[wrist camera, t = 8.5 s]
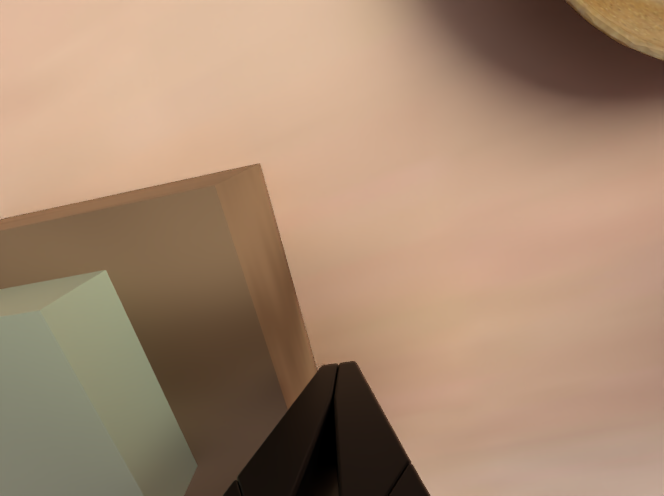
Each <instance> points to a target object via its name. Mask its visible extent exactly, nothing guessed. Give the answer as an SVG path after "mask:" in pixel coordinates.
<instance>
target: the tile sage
mask: <svg viewBox="0 0 664 496" xmlns="http://www.w3.org/2000/svg"><path fill="white" fill-rule="evenodd" d="M197 466H198V465H197V463H196V461H195V459H194V457H193V455H192V453H191V450H190V448H189V446H188V444H187V442H186V440H185V438H184V436H183V433H182V431H181V429H180V427H179V425H178V423H177V421H176V418H175V416H174V414H173V412H172V410H171V408H170V406H169V404H168V401H167V399H166V397H165V395H164V393H163V391H162V389H161V386H160V384H159V382H158V380H157V378H156V376H155V374H154V372H153V369H152V367H151V365H150V363H149V361H148V359H147V357H146V354H145V352H144V350H143V348H142V346H141V344H140V342H139V340H138V337H137V335H136V333H135V331H134V329H133V327H132V325H131V322H130V320H129V318H128V316H127V314H126V312H125V310H124V308H123V305H122V303H121V301H120V299H119V297H118V295H117V293H116V290H115V288H114V286H113V284H112V282H111V280H110V278H109V276H108V273H107V271H106V270H102V271H97V272H91V273H86V274H80V275H75V276H70V277H64V278H59V279H53V280H48V281H43V282H37V283H32V284H26V285H21V286H15V287H10V288H5V289H0V496H184V495H185V492H186V490H187V488H188V486H189V484H190V481H191V479H192V477H193V475H194V473H195V470H196V468H197Z"/></svg>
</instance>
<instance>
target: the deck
mask: <svg viewBox="0 0 664 496" xmlns="http://www.w3.org/2000/svg"><path fill="white" fill-rule="evenodd" d="M102 270H106V271H107V273H108V276H109V278H110V280H111V282H112V284H113V286H114V288H115V290H116V293H117V295H118V297H119V299H120V301H121V303H122V305H123V308H124V310H125V312H126V314H127V316H128V318H129V320H130V322H131V325H132V327H133V329H134V331H135V333H136V335H137V337H138V340H139V342H140V344H141V346H142V348H143V350H144V352H145V354H146V357H147V359H148V361H149V363H150V365H151V367H152V369H153V372H154V374H155V376H156V378H157V380H158V382H159V384H160V386H161V389H162V391H163V393H164V395H165V397H166V399H167V401H168V404H169V406H170V408H171V410H172V412H173V414H174V416H175V418H176V421H177V423H178V425H179V427H180V429H181V431H182V433H183V436H184V438H185V440H186V442H187V444H188V446H189V448H190V450H191V453H192V455H193V457H194V459H195V461H196V463H197V465H198V466H197V468H196V470H195V473H194V475H193V477H192V479H191V481H190V484H189V486H188V488H187V490H186V492H185V495H184V496H222V495H223V494H224V493H225V492H226V490H227V489H228V488H229V486H230V485H231V484H232V482H233V481H234V480H237V476H238V475H239V473H240V472H241V471H242V469H243V468H244V467H245V466H246V464H247V463H248V462H249V460H250V459H251V458H252V456H253V455H254V454H255V452H256V451H257V450H258V449H259V447H260V446H261V445H262V443H263V442H264V441H265V439H266V438H267V437H268V435H269V434H270V433H271V431H272V430H273V429H274V428H275V426H276V425H277V424H278V422H279V421H280V420H281V418H282V417H283V416H284V414H285V413H286V412H287V410H288V409H289V408H290V407H291V405H292V404H293V403H294V401H295V400H296V399H297V397H298V396H299V395H300V393H301V392H302V391H303V390H304V388H305V387H306V386H307V384H308V383H309V382H310V380H311V379H312V378H313V376H314V375H315V374H316V372H317V368H316V365H315V361H314V358H313V354H312V350H311V347H310V343H309V339H308V336H307V332H306V329H305V325H304V321H303V318H302V314H301V310H300V307H299V303H298V300H297V296H296V292H295V289H294V285H293V281H292V278H291V274H290V271H289V267H288V263H287V260H286V256H285V253H284V249H283V245H282V242H281V238H280V234H279V231H278V227H277V224H276V220H275V216H274V213H273V209H272V205H271V202H270V198H269V195H268V191H267V187H266V184H265V180H264V176H263V173H262V169H261V166H260V163H259V164H255V165H250V166H245V167H241V168H236V169H232V170H227V171H222V172H218V173H213V174H208V175H204V176H199V177H195V178H190V179H185V180H181V181H176V182H171V183H167V184H162V185H158V186H153V187H148V188H144V189H139V190H134V191H130V192H125V193H120V194H116V195H111V196H107V197H102V198H97V199H93V200H88V201H83V202H79V203H74V204H70V205H65V206H60V207H56V208H51V209H46V210H42V211H37V212H33V213H28V214H23V215H19V216H14V217H9V218H5V219H1V220H0V289H5V288H10V287H15V286H21V285H26V284H32V283H37V282H43V281H48V280H53V279H59V278H64V277H70V276H75V275H80V274H86V273H91V272H97V271H102Z"/></svg>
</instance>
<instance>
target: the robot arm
mask: <svg viewBox="0 0 664 496" xmlns="http://www.w3.org/2000/svg"><path fill="white" fill-rule="evenodd" d="M222 496H430V494H429V492H428V490H427V489H426V487H425V485H424V484H423V482H422V480H421V479H420V477H419V475H418V473H417V471H416V470H415V468H414V466H413V465H412V464H411V461H410V459H409V457H408V456H407V454H406V452H405V450H404V448H403V446H402V445H401V443H400V441H399V439H398V437H397V436H396V434H395V432H394V430H393V428H392V426H391V425H390V423H389V421H388V419H387V417H386V416H385V414H384V412H383V410H382V408H381V406H380V405H379V403H378V401H377V399H376V397H375V396H374V394H373V392H372V390H371V388H370V387H369V385H368V383H367V381H366V379H365V377H364V376H363V374H362V372H361V370H360V368H359V367H358V365H357V363H356V362H355V361H350V362H343V363H340V364H339V365H338V364H336V363H335V364H328V365H323V366H321V367H320V369H319V370H318V371H317V372H316V374H315V375H314V376H313V378H312V379H311V380H310V382H309V383H308V384H307V386H306V387H305V388H304V390H303V391H302V392H301V393H300V395H299V396H298V397H297V399H296V400H295V401H294V403H293V404H292V405H291V407H290V408H289V409H288V410H287V412H286V413H285V414H284V416H283V417H282V418H281V420H280V421H279V422H278V424H277V425H276V426H275V428H274V429H273V430H272V431H271V433H270V434H269V435H268V437H267V438H266V439H265V441H264V442H263V443H262V445H261V446H260V447H259V449H258V450H257V451H256V452H255V454H254V455H253V456H252V458H251V459H250V460H249V462H248V463H247V464H246V466H245V467H244V468H243V469H242V471H241V472H240V473H239V475H238V476H237V480H234V481H233V482H232V484H231V485H230V486H229V488H228V489H227V490H226V492H225V493H224V494H223V495H222Z"/></svg>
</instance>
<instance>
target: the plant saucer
mask: <svg viewBox="0 0 664 496" xmlns="http://www.w3.org/2000/svg"><path fill="white" fill-rule="evenodd" d="M565 1H566V2H567V3H568V4H569V5H570V6H571V7H572V8H573V9H574V10H575V11H576V12H577V13H578V14H579V15H581V16H582V17H583V18H584V19H585V20H586V21H588V22H589V23H590V24H591V25H593V26H594V27H596V28H597V29H599V30H600V31H602V32H603V33H604V34H606V35H607V36H609V37H610V38H612V39H613V40H615V41H616V42H618V43H620V44H622V45H624V46H626V47H629V48H631V49H634V50H636V51H638V52H641V53H643V54H645V55H648V56H650V57H653V58H656V59H659V60H662V61H664V0H565Z"/></svg>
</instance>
